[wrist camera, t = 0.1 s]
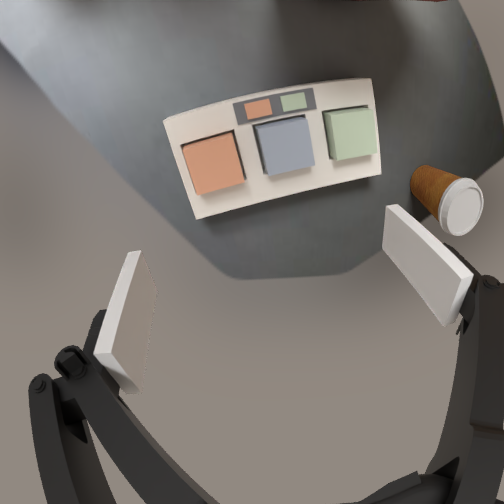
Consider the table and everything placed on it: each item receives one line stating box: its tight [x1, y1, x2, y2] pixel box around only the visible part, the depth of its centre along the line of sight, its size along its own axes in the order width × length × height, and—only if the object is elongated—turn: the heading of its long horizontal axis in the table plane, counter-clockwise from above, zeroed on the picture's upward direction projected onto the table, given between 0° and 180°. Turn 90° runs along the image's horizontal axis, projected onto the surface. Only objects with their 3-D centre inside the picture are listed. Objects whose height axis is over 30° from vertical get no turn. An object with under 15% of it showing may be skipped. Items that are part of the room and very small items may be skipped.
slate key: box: [255, 117, 315, 176], centre depth 35 cm, size 6×6×2 cm
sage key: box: [324, 107, 377, 161], centre depth 34 cm, size 6×6×2 cm
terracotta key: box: [182, 133, 245, 196], centre depth 35 cm, size 6×6×2 cm
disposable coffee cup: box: [410, 165, 483, 236], centre depth 40 cm, size 10×10×12 cm
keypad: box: [163, 78, 381, 220], centre depth 37 cm, size 14×27×5 cm, turn 103°
